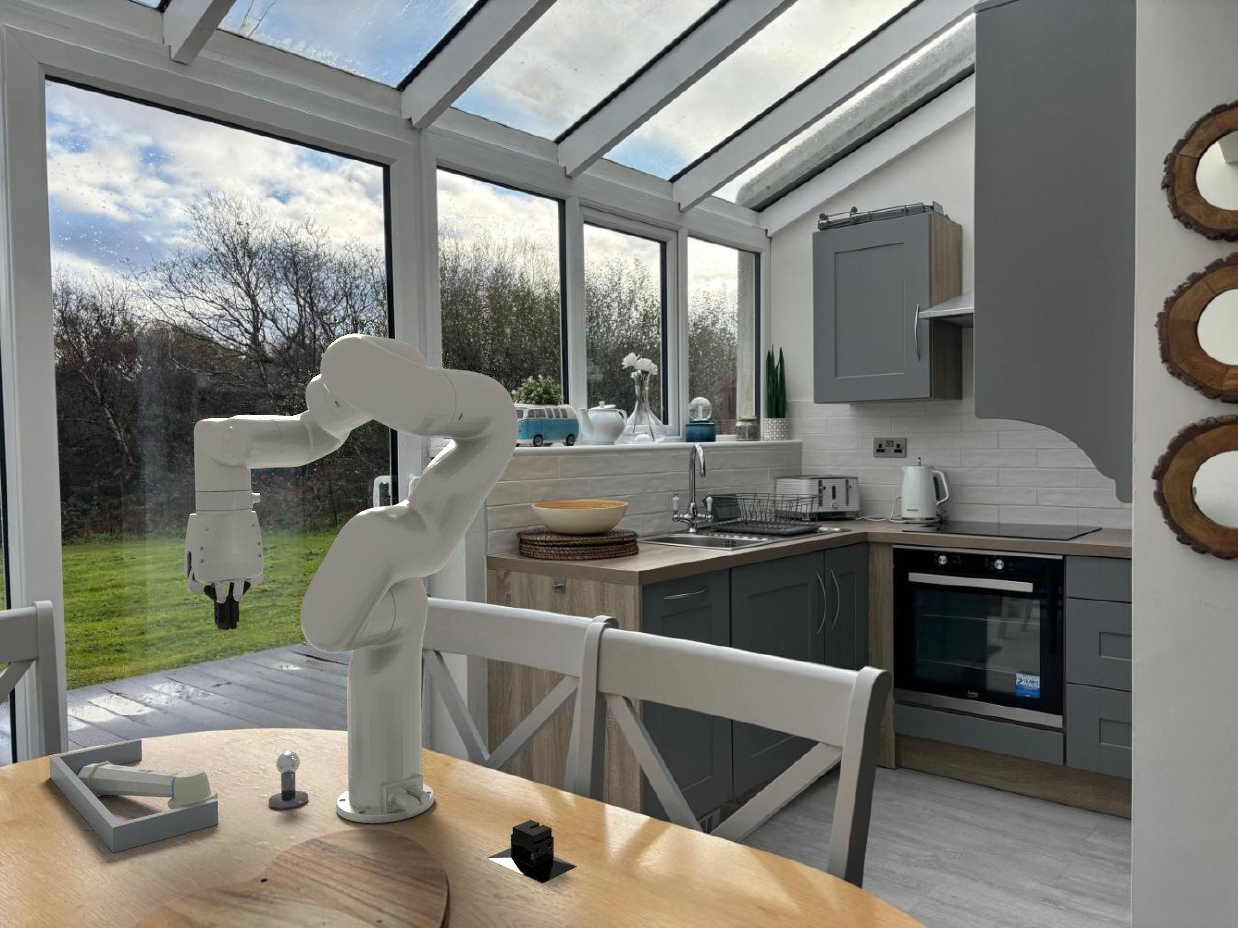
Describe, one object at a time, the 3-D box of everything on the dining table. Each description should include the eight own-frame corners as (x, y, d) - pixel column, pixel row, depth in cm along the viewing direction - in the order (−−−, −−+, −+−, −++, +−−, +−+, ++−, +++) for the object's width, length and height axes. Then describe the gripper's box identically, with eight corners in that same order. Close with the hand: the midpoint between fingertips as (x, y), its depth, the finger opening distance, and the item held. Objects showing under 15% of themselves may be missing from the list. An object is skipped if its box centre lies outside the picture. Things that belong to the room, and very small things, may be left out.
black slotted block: (592, 874, 104) (592, 833, 104) (545, 897, 99) (545, 854, 99) (519, 841, 113) (519, 803, 113) (471, 861, 107) (471, 821, 107)
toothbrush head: (103, 756, 132) (222, 759, 120) (108, 804, 131) (228, 811, 120) (67, 768, 127) (187, 772, 115) (72, 817, 127) (193, 826, 115)
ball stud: (314, 802, 124) (313, 751, 124) (277, 812, 121) (276, 760, 120) (298, 792, 128) (298, 743, 127) (262, 801, 124) (262, 751, 124)
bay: (218, 824, 117) (217, 800, 117) (113, 852, 109) (112, 827, 109) (140, 757, 142) (139, 738, 142) (49, 777, 134) (49, 756, 134)
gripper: (263, 500, 143) (266, 618, 143) (160, 505, 132) (164, 633, 133) (284, 501, 138) (287, 624, 138) (179, 506, 127) (183, 639, 127)
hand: (227, 628), depth 135 cm, fingers closed
